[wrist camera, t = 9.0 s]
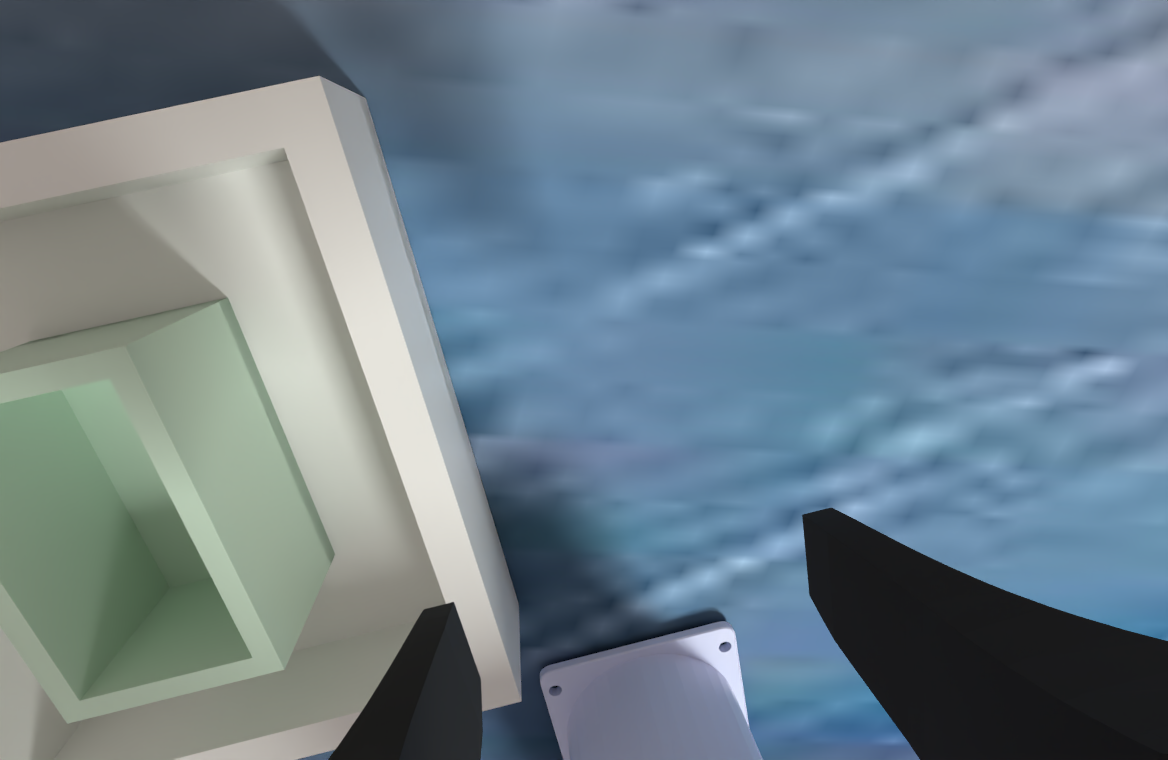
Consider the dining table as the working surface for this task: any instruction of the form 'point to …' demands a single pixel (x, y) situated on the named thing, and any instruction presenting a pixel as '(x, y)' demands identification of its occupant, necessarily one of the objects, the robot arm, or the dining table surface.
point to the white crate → (269, 391)
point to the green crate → (150, 513)
